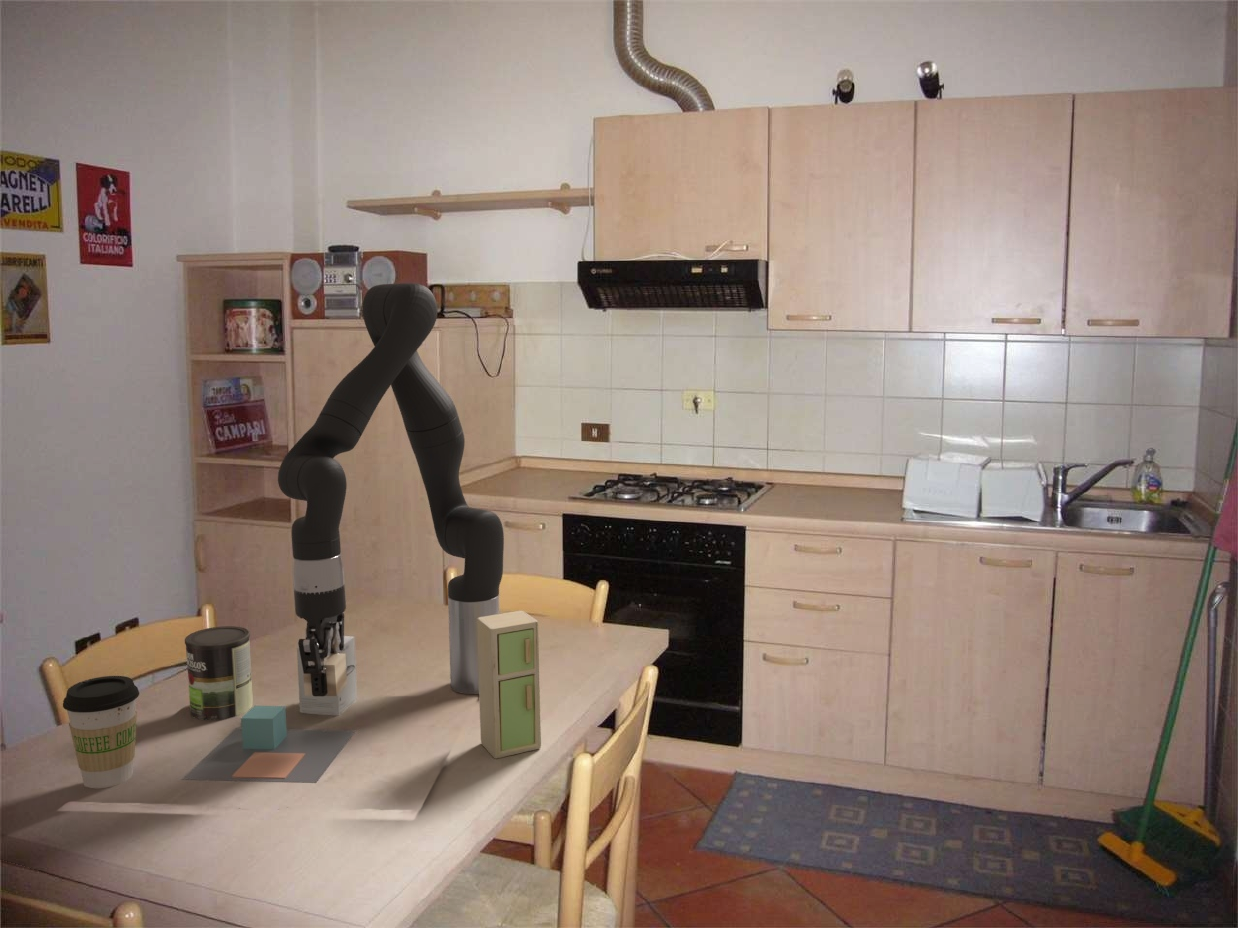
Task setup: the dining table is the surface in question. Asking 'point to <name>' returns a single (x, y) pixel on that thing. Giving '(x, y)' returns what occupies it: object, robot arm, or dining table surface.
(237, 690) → the coffee can
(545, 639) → the dining table surface
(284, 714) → the teal block
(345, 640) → the supplement box
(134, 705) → the coffee cup
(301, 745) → the baseplate
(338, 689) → the ash block
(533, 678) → the toy refrigerator
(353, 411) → the robot arm
